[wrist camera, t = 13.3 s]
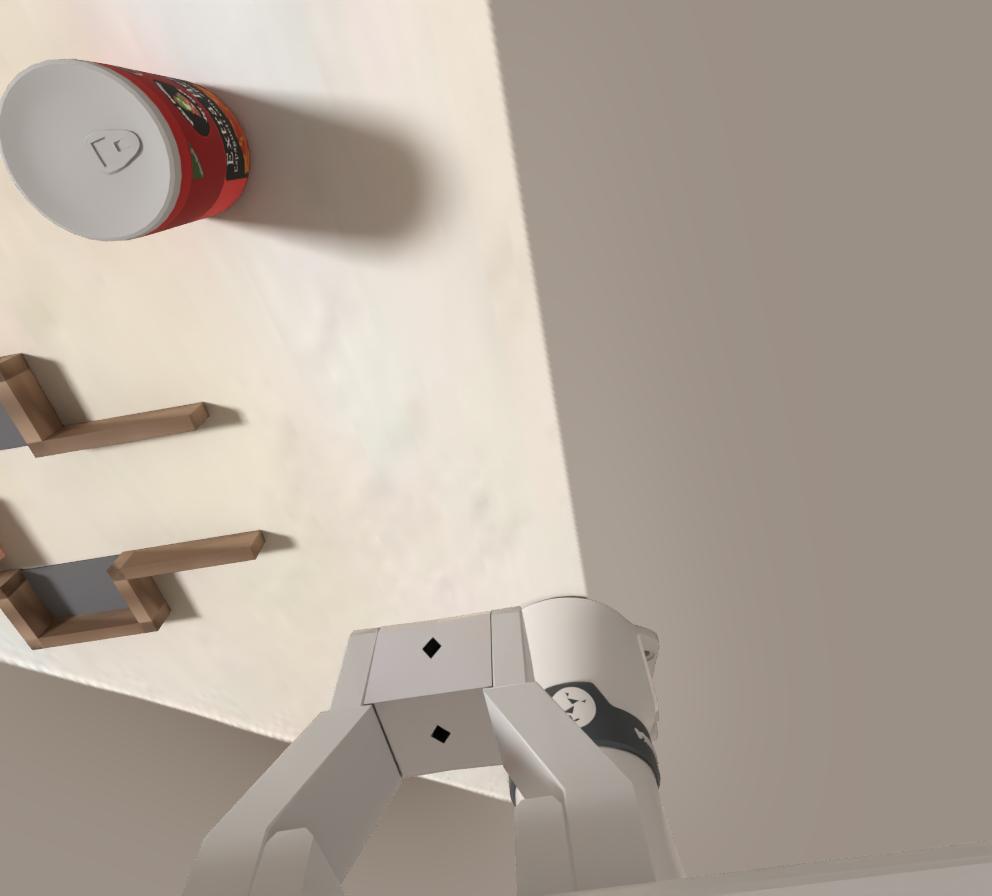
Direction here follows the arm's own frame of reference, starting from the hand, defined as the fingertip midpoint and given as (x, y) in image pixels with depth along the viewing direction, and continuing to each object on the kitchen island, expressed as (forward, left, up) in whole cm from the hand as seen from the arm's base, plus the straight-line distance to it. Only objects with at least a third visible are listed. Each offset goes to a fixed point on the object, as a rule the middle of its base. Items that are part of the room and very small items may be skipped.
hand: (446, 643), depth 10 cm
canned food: (+10, +16, -34) cm, 39 cm away
